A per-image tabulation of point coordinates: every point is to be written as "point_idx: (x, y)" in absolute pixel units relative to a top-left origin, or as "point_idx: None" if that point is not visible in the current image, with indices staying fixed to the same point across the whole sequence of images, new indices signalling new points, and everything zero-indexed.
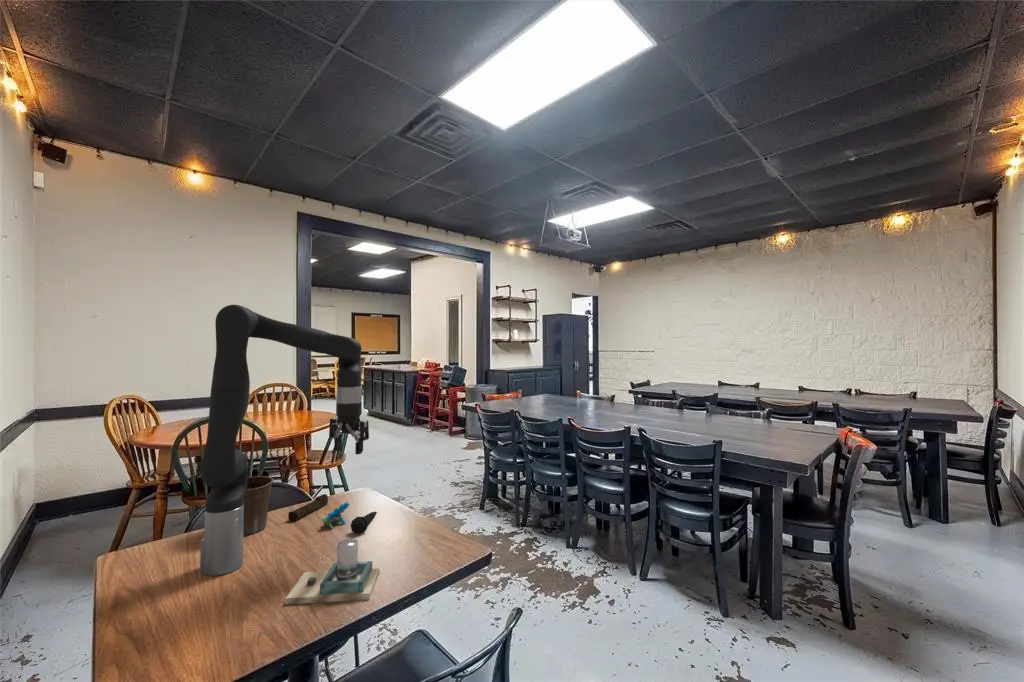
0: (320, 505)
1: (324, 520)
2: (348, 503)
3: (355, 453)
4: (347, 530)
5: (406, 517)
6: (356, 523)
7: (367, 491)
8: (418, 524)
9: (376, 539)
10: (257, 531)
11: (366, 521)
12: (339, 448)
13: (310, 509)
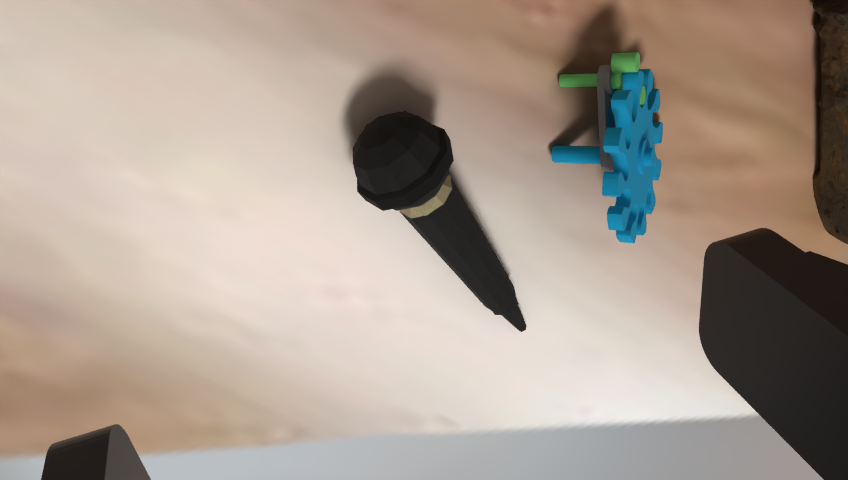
0: (826, 181)
1: (620, 58)
2: (623, 237)
3: (106, 428)
4: (473, 122)
5: (342, 398)
6: (387, 142)
7: (751, 412)
8: (212, 399)
9: (228, 162)
10: None
11: (373, 202)
12: (739, 333)
13: (831, 114)
